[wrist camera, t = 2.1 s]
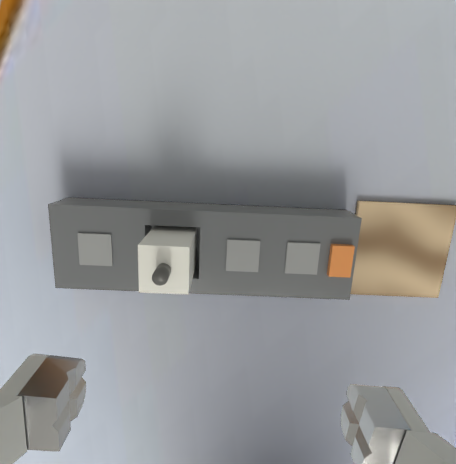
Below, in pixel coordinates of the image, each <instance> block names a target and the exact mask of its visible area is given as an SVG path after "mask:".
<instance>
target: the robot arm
mask: <svg viewBox="0 0 456 464" xmlns="http://www.w3.org/2000/svg"><path fill="white" fill-rule="evenodd" d="M85 371H86V366H85V360H83V359H78V358H70V357H61V356H53V355H50V356H49V355H41V354H32V355H30V356H29V357H28V358H27V359H26V360H25V361H24V362H23V363H22V365H21V366H20V367H19V368H18V369H17V370H16V372H15V373H14V374H13V375H12V376H11V377H10V379H9V380H8V381H7V382H6V383H5V384H4V386H3V387H2V388H1V389H0V464H13V463H14V462H15V461H17V460H18V459H19V458H20V457H21V456H23V455H24V454H25V453H26V452H27V450H41V451H60V449H61V448H62V446H63V444H64V442H65V440H66V438H67V436H68V434H69V432H70V430H71V427H70V421H72V420H73V419H75V418H76V417H77V416H78V414H79V412H80V410H81V408H82V405H83V402H84V399H85V393H86V382H85V380H84V379H83V378H82V376H83V374H84V372H85ZM346 395H347V398H348V400H349V401H348V402H347V403H345V404H344V405H343V407H342V411H341V428H342V432H343V435H344V438H345V440H346V441H347V442H348V443H349V444H350V445H351V446H352V450H351V453H350V454H351V457H352V460H353V462H354V464H456V448H455V447H454V446H453V445H451V444H450V443H448V442H447V441H446V440H444V439H443V438H442V437H440V436H439V435H438V434H436V433H431V432H430V431H429V430H428V428H427V427H426V425H425V424H424V422H423V421H422V419H421V418H420V416H419V415H418V413H417V411H416V410H415V408H414V407H413V405H412V404H411V402H410V401H409V399H408V398H407V396H406V395H405V393H404V392H403V390H401V389H400V388H399V387H385V386H382V387H380V386H369V385H357V384H350V385H349V387H348V389H347V392H346Z"/></svg>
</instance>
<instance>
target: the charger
mask: <svg viewBox="0 0 456 464" xmlns="http://www.w3.org/2000/svg"><path fill="white" fill-rule="evenodd" d="M196 243H197V227H179V226H156V225H155V226H154V227H153V228H152V229H151V230H150V232H149V233H148V234H147V235H146V236H145V237H144V238H143V240H142V241H141V242H140V243H139V244H138V278H139V293H162V294H187V295H189V291H190V287H191V283H192V279H193V275H194V271H195V266H196Z"/></svg>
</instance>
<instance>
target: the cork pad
mask: <svg viewBox="0 0 456 464" xmlns="http://www.w3.org/2000/svg"><path fill="white" fill-rule="evenodd" d="M356 215H357V216H359V217H360V218H362V221H361V227H360V234H359V241H358V247H357V254H356V260H355V267H354V274H353V280H352V287H351V294H359V295H383V296H408V297H433V298H438V296H439V292H440V287H441V283H442V278H443V274H444V269H445V265H446V261H447V256H448V252H449V247H450V243H451V238H452V234H453V229H454V225H455V220H456V205H443V204H421V203H399V202H377V201H357V208H356Z"/></svg>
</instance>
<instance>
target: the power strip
mask: <svg viewBox="0 0 456 464" xmlns="http://www.w3.org/2000/svg"><path fill="white" fill-rule="evenodd" d="M48 209H49V220H50V231H51V243H52V254H53V265H54V276H55V287H56V288H71V289H96V290H121V291H139V278H138V244H139V243H140V242H141V241H142V240H143V238H144V237H145V236H146V235H147V234H148V233H149V232H150V230H151V229H152V228H153V227H154V226H155V225H156V226H179V227H197V243H196V266H195V271H194V275H193V279H192V283H191V287H190V291H189V293H195V294H220V295H245V296H270V297H295V298H320V299H345V300H350V294H351V287H352V280H353V274H354V267H355V260H356V254H357V247H358V241H359V234H360V227H361V221H362V218H360V217H359V216H357V215H355V214H353V213H351V212H349V211H347V210H337V209H315V208H293V207H271V206H248V205H226V204H204V203H182V202H160V201H138V200H115V199H93V198H71V197H68V198H65V199H62V200H59V201H56V202H53V203H50V204H48Z"/></svg>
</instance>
